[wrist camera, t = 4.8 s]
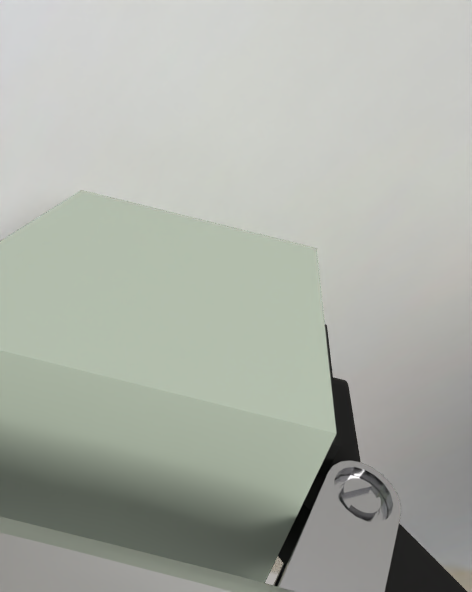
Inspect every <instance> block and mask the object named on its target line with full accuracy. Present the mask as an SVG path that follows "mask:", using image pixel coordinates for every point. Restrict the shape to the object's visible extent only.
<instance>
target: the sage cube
mask: <svg viewBox="0 0 472 592" xmlns="http://www.w3.org/2000/svg"><path fill="white" fill-rule="evenodd" d="M336 434H337V433H336V424H335V415H334V406H333V396H332V387H331V378H330V369H329V360H328V350H327V341H326V332H325V323H324V314H323V304H322V295H321V286H320V277H319V267H318V258H317V249H316V248H313V247H309V246H305V245H301V244H297V243H293V242H289V241H285V240H281V239H277V238H273V237H269V236H265V235H261V234H257V233H253V232H249V231H245V230H241V229H236V228H232V227H228V226H224V225H220V224H216V223H212V222H208V221H204V220H200V219H196V218H192V217H188V216H184V215H180V214H176V213H172V212H168V211H164V210H160V209H156V208H152V207H148V206H144V205H140V204H136V203H131V202H127V201H123V200H119V199H115V198H111V197H107V196H103V195H99V194H95V193H91V192H87V191H83V190H81V191H79V192H78V193H76V194H75V195H73V196H71V197H70V198H68V199H67V200H65V201H63V202H62V203H60V204H59V205H57V206H55V207H54V208H52V209H51V210H49V211H47V212H46V213H44V214H43V215H41V216H40V217H38V218H36V219H35V220H33V221H32V222H30V223H28V224H27V225H25V226H24V227H22V228H20V229H19V230H17V231H16V232H14V233H13V234H11V235H9V236H8V237H6V238H5V239H3V240H1V241H0V517H4V518H8V519H12V520H16V521H20V522H24V523H28V524H32V525H37V526H41V527H45V528H49V529H53V530H57V531H61V532H65V533H69V534H73V535H77V536H81V537H85V538H89V539H93V540H97V541H101V542H105V543H109V544H113V545H117V546H121V547H125V548H129V549H133V550H137V551H141V552H145V553H149V554H153V555H157V556H161V557H165V558H169V559H173V560H177V561H180V562H184V563H188V564H192V565H196V566H200V567H204V568H208V569H212V570H216V571H220V572H224V573H228V574H232V575H236V576H240V577H244V578H247V579H251V580H255V581H258V582H262V583H265V581H266V579H267V577H268V575H269V573H270V571H271V569H272V567H273V565H274V563H275V560H276V558H277V556H278V554H279V552H280V550H281V548H282V546H283V544H284V542H285V540H286V538H287V536H288V533H289V531H290V529H291V527H292V525H293V523H294V521H295V519H296V517H297V515H298V513H299V511H300V508H301V506H302V504H303V502H304V500H305V498H306V496H307V494H308V492H309V490H310V488H311V486H312V484H313V481H314V479H315V477H316V475H317V473H318V471H319V469H320V467H321V465H322V463H323V461H324V459H325V456H326V454H327V452H328V450H329V448H330V446H331V444H332V442H333V440H334V438H335V436H336Z"/></svg>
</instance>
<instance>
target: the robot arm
mask: <svg viewBox="0 0 472 592" xmlns="http://www.w3.org/2000/svg"><path fill="white" fill-rule="evenodd" d="M325 332H326V341H327V350H328V360H329V369H330V378H331V387H332V396H333V406H334V415H335V424H336V433H337V434H336V436H335V438H334V440H333V442H332V444H331V446H330V448H329V450H328V452H327V454H326V456H325V459H324V461H323V463H322V465H321V467H320V469H319V471H318V473H317V475H316V477H315V479H314V481H313V484H312V486H311V488H310V490H309V492H308V494H307V496H306V498H305V500H304V502H303V504H302V506H301V508H300V511H299V513H298V515H297V517H296V519H295V521H294V523H293V525H292V527H291V529H290V531H289V533H288V536H287V538H286V540H285V542H284V544H283V546H282V548H281V550H280V552H279V554H278V556H279V558H280V559H281V560H282V562H283V564H282V566H281V569H280V571H279V573H278V576H277V578H276V580H275V582H274V585H269V584H266V583H262V582H258V581H255V580H251V579H247V578H244V577H240V576H236V575H232V574H228V573H224V572H220V571H216V570H212V569H208V568H204V567H200V566H196V565H192V564H188V563H184V562H180V561H177V560H173V559H169V558H165V557H161V556H157V555H153V554H149V553H145V552H141V551H137V550H133V549H129V548H125V547H121V546H117V545H113V544H109V543H105V542H101V541H97V540H93V539H89V538H85V537H81V536H77V535H73V534H69V533H65V532H61V531H57V530H53V529H49V528H45V527H41V526H37V525H32V524H28V523H24V522H20V521H16V520H12V519H8V518H4V517H0V592H467V591H466V590H465V589H464V588H463V587H462V586H461V585H460V584H459V583H458V582H457V581H456V580H455V579H454V578H453V577H452V576H451V575H450V574H449V573H448V572H447V571H446V570H445V569H444V568H443V567H442V566H441V565H440V564H439V563H438V562H437V561H436V560H435V559H434V558H433V557H432V556H431V555H430V554H429V553H428V552H427V551H426V550H425V549H424V548H423V547H422V546H421V545H420V544H419V543H418V542H417V541H416V540H415V539H414V538H413V537H412V536H411V535H410V534H409V533H408V532H407V531H406V530H405V529H404V528H403V527H402V526H401V525H400V524H399V521H400V516H401V504H400V500H399V497H398V494H397V492H396V491H395V489H394V488H393V486H392V484H391V483H390V482H389V481H388V480H387V479H386V478H385V477H384V476H383V475H382V474H381V473H380V472H378V471H377V470H375V469H374V468H372V467H371V466H368V465H366V464H363V463H361V462H360V456H359V450H358V444H357V437H356V431H355V425H354V418H353V412H352V406H351V399H350V393H349V387H348V383H347V382H346V381H345V380H341V379H337V378H333V375H332V367H331V358H330V349H329V340H328V332H327V325H325Z"/></svg>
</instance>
